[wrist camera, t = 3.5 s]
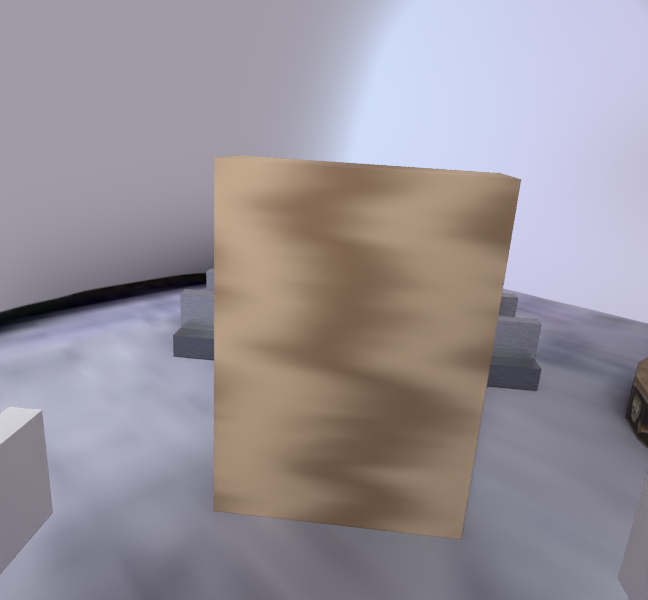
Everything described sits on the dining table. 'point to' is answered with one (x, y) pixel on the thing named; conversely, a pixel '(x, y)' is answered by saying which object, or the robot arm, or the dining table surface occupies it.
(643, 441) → the wood log slice
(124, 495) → the dining table surface
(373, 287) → the door
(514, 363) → the track
